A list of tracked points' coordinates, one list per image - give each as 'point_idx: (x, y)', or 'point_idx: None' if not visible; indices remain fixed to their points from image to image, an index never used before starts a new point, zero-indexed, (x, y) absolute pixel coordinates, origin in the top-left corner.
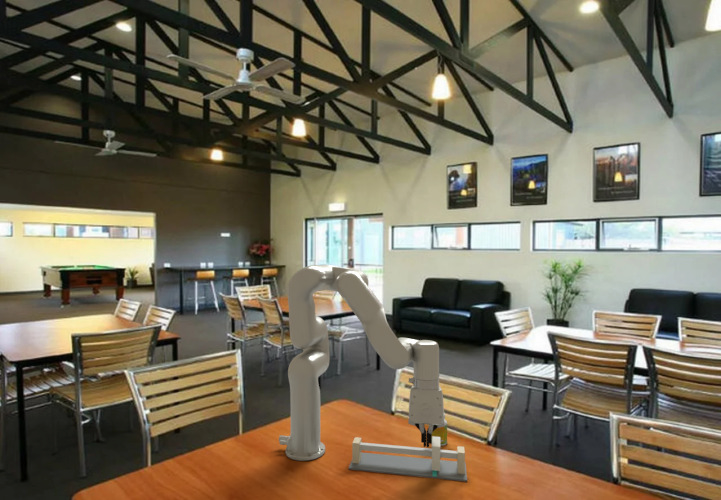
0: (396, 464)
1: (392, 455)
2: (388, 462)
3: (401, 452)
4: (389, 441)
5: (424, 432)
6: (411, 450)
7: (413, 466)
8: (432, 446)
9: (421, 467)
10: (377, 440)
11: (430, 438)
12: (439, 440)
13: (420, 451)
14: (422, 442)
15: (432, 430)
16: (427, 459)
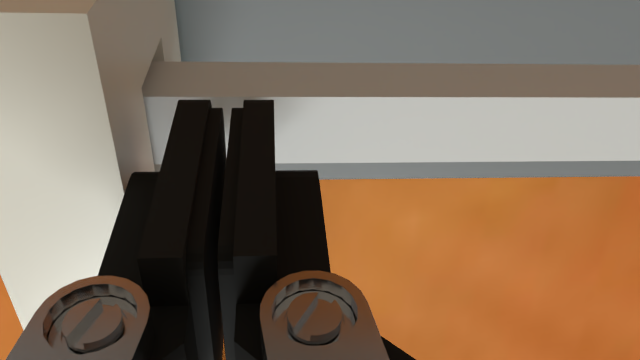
0: (556, 24)
1: (563, 175)
2: (630, 49)
3: (565, 73)
4: (537, 353)
5: (256, 305)
6: (446, 90)
7: (381, 17)
8: (68, 10)
9: (295, 11)
10: (621, 349)
11: (134, 220)
12: (8, 257)
13: (319, 89)
14: (295, 172)
15: (15, 353)
16: None
